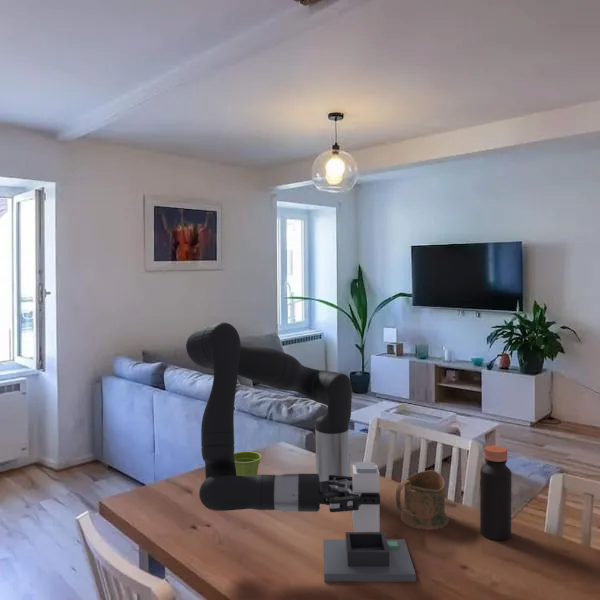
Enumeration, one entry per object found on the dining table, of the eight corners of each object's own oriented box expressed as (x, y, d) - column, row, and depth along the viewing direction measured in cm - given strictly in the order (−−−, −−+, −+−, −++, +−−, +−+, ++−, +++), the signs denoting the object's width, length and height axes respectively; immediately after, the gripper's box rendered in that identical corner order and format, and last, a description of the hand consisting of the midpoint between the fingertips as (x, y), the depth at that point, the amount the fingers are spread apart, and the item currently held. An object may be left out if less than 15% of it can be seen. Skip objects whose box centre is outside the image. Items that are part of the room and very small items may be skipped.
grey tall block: (352, 520, 118) (352, 461, 117) (376, 520, 118) (376, 461, 117) (353, 531, 112) (353, 469, 112) (379, 531, 112) (379, 470, 112)
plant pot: (243, 477, 164) (243, 449, 164) (268, 484, 159) (268, 455, 158) (222, 488, 157) (221, 458, 156) (247, 495, 151) (246, 464, 151)
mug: (377, 528, 131) (376, 479, 130) (416, 504, 144) (416, 459, 143) (420, 544, 123) (419, 491, 122) (457, 517, 136) (457, 470, 135)
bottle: (483, 524, 132) (483, 442, 131) (513, 531, 128) (514, 446, 127) (477, 536, 126) (477, 450, 125) (508, 543, 123) (508, 455, 121)
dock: (324, 581, 109) (324, 559, 109) (323, 545, 123) (323, 526, 123) (415, 581, 108) (415, 559, 108) (404, 546, 122) (404, 526, 122)
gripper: (295, 488, 108) (382, 488, 107) (298, 462, 122) (374, 463, 122) (295, 525, 108) (382, 526, 108) (298, 496, 122) (374, 496, 122)
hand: (378, 492), depth 115 cm, fingers closed on grey tall block, 5 cm apart
